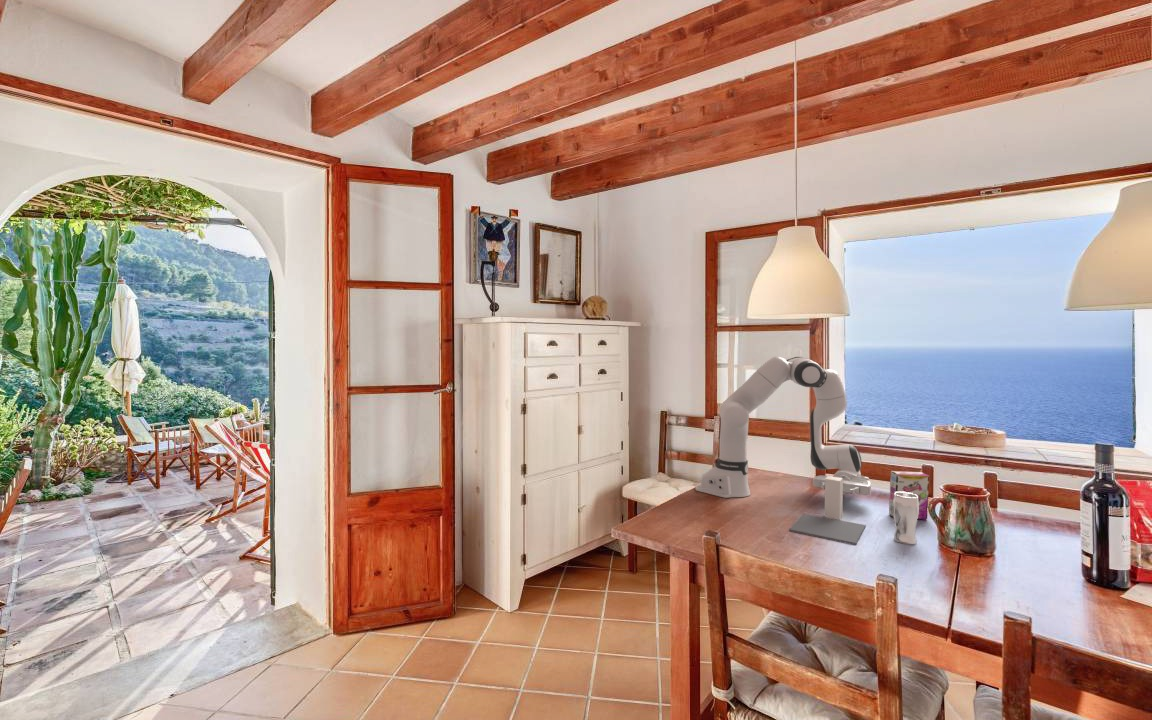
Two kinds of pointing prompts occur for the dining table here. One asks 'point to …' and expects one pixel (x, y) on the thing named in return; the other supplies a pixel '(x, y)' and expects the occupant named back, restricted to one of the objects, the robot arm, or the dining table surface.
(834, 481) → the white block
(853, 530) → the rubber mat
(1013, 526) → the dining table surface
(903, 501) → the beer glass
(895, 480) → the candy bar box
